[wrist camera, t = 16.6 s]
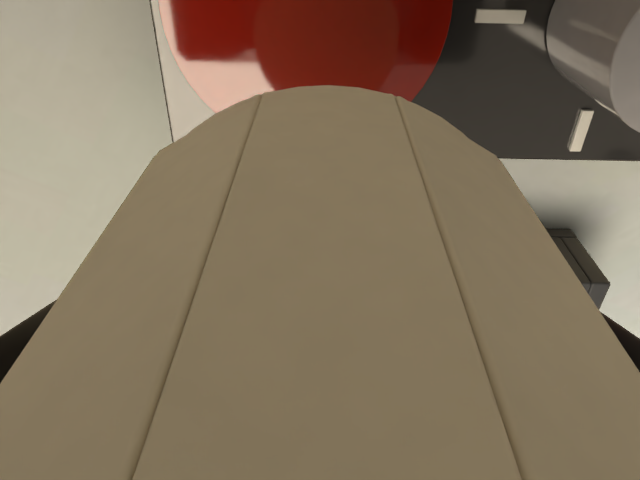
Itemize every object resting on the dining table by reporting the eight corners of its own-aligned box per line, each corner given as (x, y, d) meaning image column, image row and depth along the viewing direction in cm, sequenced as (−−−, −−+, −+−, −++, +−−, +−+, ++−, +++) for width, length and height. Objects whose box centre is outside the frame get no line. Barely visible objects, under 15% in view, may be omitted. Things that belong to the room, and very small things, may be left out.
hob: (791, -173, 13) (862, -184, 12) (658, 139, 18) (692, 165, 17) (141, -186, 13) (113, -199, 12) (187, 130, 18) (172, 154, 17)
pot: (566, 83, 7) (1352, 695, 2) (476, 392, 11) (622, 877, 5) (92, 77, 7) (-667, 648, 2) (169, 386, 11) (14, 864, 5)
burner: (479, -174, 12) (481, -175, 12) (429, 149, 17) (430, 150, 17) (131, -181, 12) (129, -182, 12) (180, 144, 17) (180, 146, 17)
